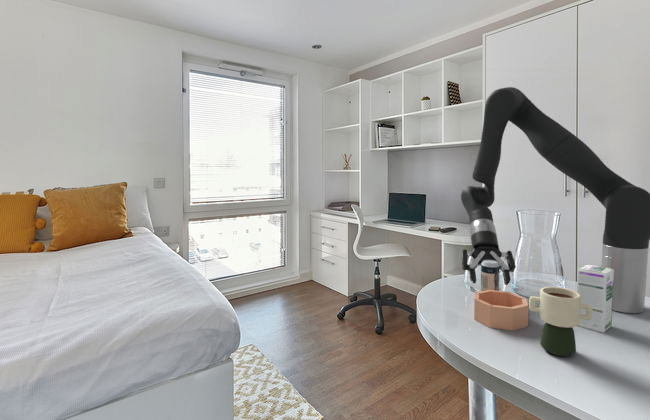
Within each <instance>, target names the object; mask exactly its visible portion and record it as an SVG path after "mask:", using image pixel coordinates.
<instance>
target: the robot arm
mask: <svg viewBox="0 0 650 420" xmlns="http://www.w3.org/2000/svg"><path fill="white" fill-rule="evenodd" d="M483 114H484V115H483V124H482V133H481V138H480V142H479V143H480V144H479V148H478V153H477V156H476V160H475V164H474V167H473V171H472V175H471V176H472V179H473V180H474V181H475V182H478V183H480V184H484V187H483V186H475V185H474V186H473V185H467V186H466V187H463V189H462V191H461V194H460V201H461V203H462V206H463V207H464V209H465V212H466V214H467V215H468V218H469V219H468V220H469V225H470V227H469V228H470V229H469V232H470V233H469V236H470V242H471V249H472V251H470V250H469V251H468V250H467V249H465V248H464V249H463V250H462V253H461V266H462V268H461V269H462V270H463V271H467V272H469V280H470V281H471V282H472V284H477V283H476V282H477V273H476V269H477V268H478V267H479V265H480V266H481V263H482V262H483V261H484V260H494V261H497V262H498V264H499V271H501V272H502V277H503V283H504V285H505V286H508V285H509V284H510V282H511V280H512V279H511V274H510V273H514V271H515V269H516V267H517V266H516V263H515V260H514V259H515V258H514V256H513V252H512V251H511V250H507V251H506V252H503V251H501V249H500V248H499V247H500V246H499V241H498V235H497V229H496V226H495V224H494V218H493V213H492V210H491V209H490V208H491V206H492V205H493V204H494V202H495V196H496V195H495V181H496V175H497V172H498V168H499V165H500V161H501V157H502V156H501V155H502V143H503V142H502V141H503V136H504V132H505V130H506V127H507V125H508V123H509V122H510V123H512V124H513V125H515V126H516V127H517V128H518V129H520V130H521V131H522V132H523V133H524V135H526V137H527V138H528V140H529V142H530V143H531V145H532V146H533V148H534V149H535V150H536V151H537V153H538V154H539V155H540V156H541V157H542V158H543V159H545V161H547V162H548V163H549V164H551V165H552V166H553V167H554V168H555V169H556V170H558V171H560V172H561V173H562V174H563V175H565V176H566V177H568V178H570V179H572V180H573V181H574V182H577V183H578V184H580V185H581V186H583V187H584V189H586V190H587V191H588V192H590V193H591V195H593V196H594V197H595V198H596V199H597V200H598V202H600V203H601V205H602V206H603V207H604V208H605V217H604V219H605V221H604V230H603V235H602V249H601V250H602V251H601V263H600V264H601V266H603V267H608V268H612V269H614V281H613V305H612V311H616V312H620V313H623V314H624V313H625V314H641V313H643V312H644V309H645V304H646V302H645V301H646V300H645V299H646V288H647V273H648V272H647V271H648V261H649V260H648V259H649V258H648V257H649V247H650V246H649V244H650V192H649V191H647V190H646V189H644V188H642V187H640V186H636V185H635V184H634V183H631V181H628V180H627V179H625V178H624V177H622V176H621V175H619V174H617V173H615V172H614V171H613V170H611V168H610V167H608V166H607V165H606V164H605V162H604V161H602V159H600V157H599V156H598V155H597V154H596V153H595V152H594V150H592V148H590V147H589V146H588V145H587V144H586V143H585V142H584V141H583V140H581V139H580V138H579V137H577V136H576V135H575V134H574V133H572V132H571V131H569V130H568V129H567V128H565V127H564V126H563V125H561V124H560V123H559V122H557V121H556V120H555V119H553V118H551V117H550V116H548V115H547V114H545V112H543V111H542V110H541V109H539V108H538V107H537V106H536V105H535V104H534V103H533V101H532V100H531V99H529V97H527V95H526V94H525V93H524V92H522V90H520V89H518V88H516V87H514V86H513V87H512V86H507V87H501V88H498V89H495V90H493V91H492V92H491V93H490V94H489V95H488V96H487V98H486V100H485V105H484V112H483ZM470 257H472V258H473V259H474V260H473V261H472V263H471V264H468V259H469V258H470ZM502 257H503V259H502ZM504 260H505V261H506V262H507V263H505V261H504Z"/></svg>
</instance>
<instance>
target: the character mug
mask: <svg viewBox="0 0 650 420" xmlns="http://www.w3.org/2000/svg"><path fill="white" fill-rule="evenodd" d="M528 301H529V302H528V310H530V311H532V312H538V313H539V316H540V319H541V320H542V321H543V322H544V325H543V327H542V332H541V336H540V346H541V348H543V349H544V350H546V351H547V352H549V353H551V354H554V355H558V356H560V357H561V356H562V357H566V356H568V357H569V356H571V355H574V354H575V353H576V352H577V349H576V348H577V346H576V345H577V344H576V337H575V336H576V335H575V330H574V328H575V327H579V326H578V324H579V322H580V319H584V320H591V319H592V311H593V308H592V306H591V305H589V304H582V303H581V295H580V294H579V293H578V292H577V290H576V291H575V290H573V289H570V288H565V287H560V286H546V287H542V288H541V289H540V290H539V296H532V295H531V296H529V299H528ZM536 302H538V303H539V307H536V306H535V305H536V304H535V303H536ZM581 308H585V309H586V315H581V314H580V313H581Z"/></svg>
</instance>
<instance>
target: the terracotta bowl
mask: <svg viewBox="0 0 650 420" xmlns="http://www.w3.org/2000/svg"><path fill="white" fill-rule="evenodd" d="M473 317H474V318H473V319H474V320H475V321H476V322H478V323H481V324H482V325H484V326H486V327H488V328H490V329H491V328H492V329H499V330H507V331H516V330H520V329H525V328H527V327H528V324H529V319H528V318H529V302H528V300H527V298H526V297H524V296H521V295H519V294H516V293H513V292H512V291H511V292H510V291H504V290H499V291H496V290H485V291H481V290H480V291H476V292H474V316H473Z"/></svg>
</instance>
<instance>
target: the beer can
mask: <svg viewBox="0 0 650 420" xmlns="http://www.w3.org/2000/svg"><path fill="white" fill-rule="evenodd" d="M485 290H496V291H500V269H499V264H498V262H497V261H494V260H484V261H483V262H482V263H481V265H480V291H485Z"/></svg>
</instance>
